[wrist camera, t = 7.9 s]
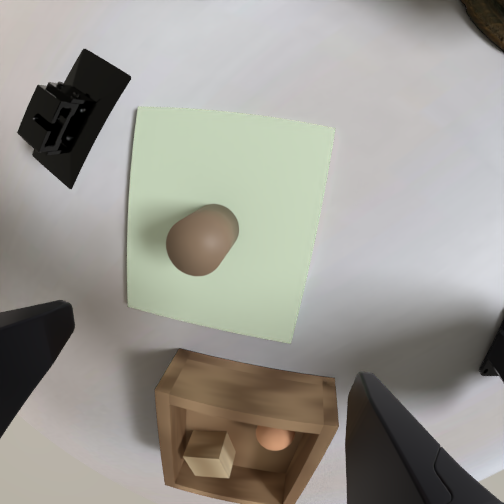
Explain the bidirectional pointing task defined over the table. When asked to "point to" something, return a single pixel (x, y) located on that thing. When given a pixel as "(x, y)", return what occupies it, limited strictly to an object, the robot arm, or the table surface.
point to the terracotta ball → (274, 437)
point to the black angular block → (72, 115)
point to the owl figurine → (488, 18)
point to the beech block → (210, 454)
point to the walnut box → (244, 425)
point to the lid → (224, 217)
